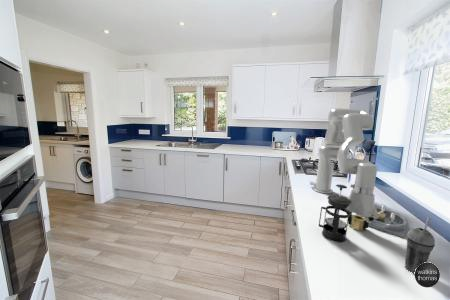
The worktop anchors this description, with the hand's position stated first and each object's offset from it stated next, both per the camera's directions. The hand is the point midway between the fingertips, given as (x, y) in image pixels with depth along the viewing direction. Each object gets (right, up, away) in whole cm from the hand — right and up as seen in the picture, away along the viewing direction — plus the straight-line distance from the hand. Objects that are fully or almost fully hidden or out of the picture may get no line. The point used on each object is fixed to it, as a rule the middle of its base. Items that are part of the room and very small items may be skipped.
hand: (357, 225), depth 102 cm
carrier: (+16, 0, +7) cm, 17 cm away
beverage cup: (+3, -6, -27) cm, 28 cm away
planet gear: (0, -1, 0) cm, 1 cm away
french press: (-16, -2, -8) cm, 18 cm away
